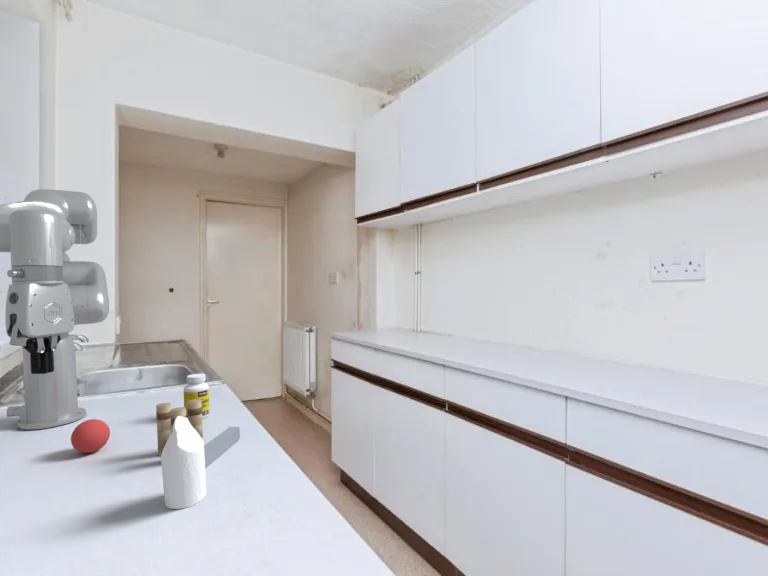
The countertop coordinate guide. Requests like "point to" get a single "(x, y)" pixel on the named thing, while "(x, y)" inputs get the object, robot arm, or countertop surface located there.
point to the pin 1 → (177, 414)
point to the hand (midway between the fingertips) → (42, 372)
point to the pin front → (163, 425)
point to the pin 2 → (195, 415)
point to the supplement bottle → (197, 392)
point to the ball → (90, 436)
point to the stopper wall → (220, 444)
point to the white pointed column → (183, 466)
